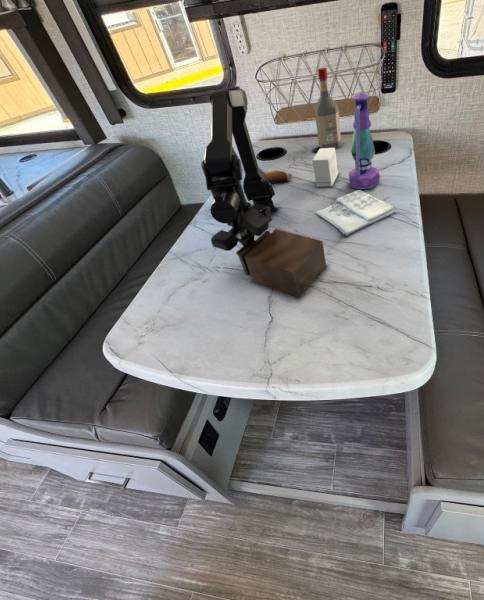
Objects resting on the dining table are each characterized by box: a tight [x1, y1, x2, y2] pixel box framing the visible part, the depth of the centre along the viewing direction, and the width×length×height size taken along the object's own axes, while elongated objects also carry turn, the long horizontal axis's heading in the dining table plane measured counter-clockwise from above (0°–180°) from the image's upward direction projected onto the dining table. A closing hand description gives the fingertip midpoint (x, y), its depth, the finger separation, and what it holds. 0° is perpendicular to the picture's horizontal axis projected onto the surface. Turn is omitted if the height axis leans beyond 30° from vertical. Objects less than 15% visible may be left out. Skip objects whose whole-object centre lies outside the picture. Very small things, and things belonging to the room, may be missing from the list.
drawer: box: [235, 230, 271, 277], centre depth 93 cm, size 19×12×7 cm, turn 58°
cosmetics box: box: [312, 147, 339, 188], centre depth 127 cm, size 10×6×10 cm, turn 164°
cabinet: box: [245, 228, 327, 299], centre depth 90 cm, size 16×14×9 cm
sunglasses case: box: [242, 170, 290, 183], centre depth 135 cm, size 18×7×7 cm
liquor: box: [314, 67, 342, 150], centre depth 143 cm, size 9×9×30 cm
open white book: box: [315, 189, 396, 237], centre depth 110 cm, size 19×20×2 cm
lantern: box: [348, 91, 380, 190], centre depth 114 cm, size 13×12×30 cm
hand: (251, 251), depth 96 cm, fingers closed
